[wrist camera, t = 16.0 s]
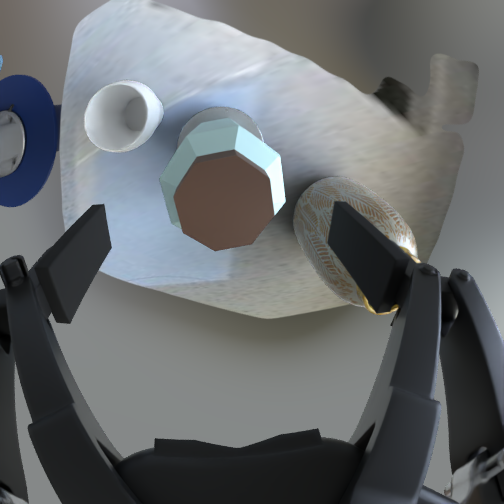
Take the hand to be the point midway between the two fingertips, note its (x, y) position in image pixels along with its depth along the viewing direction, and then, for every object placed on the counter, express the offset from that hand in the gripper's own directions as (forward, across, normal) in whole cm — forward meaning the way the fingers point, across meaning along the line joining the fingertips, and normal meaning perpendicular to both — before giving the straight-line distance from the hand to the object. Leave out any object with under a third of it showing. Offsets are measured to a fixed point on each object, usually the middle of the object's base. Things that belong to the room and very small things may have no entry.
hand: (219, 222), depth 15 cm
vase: (+37, +22, -13) cm, 45 cm away
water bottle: (+28, 0, 0) cm, 28 cm away
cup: (+37, -13, +6) cm, 40 cm away
